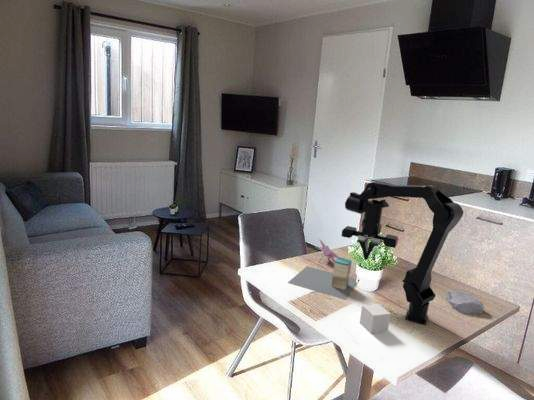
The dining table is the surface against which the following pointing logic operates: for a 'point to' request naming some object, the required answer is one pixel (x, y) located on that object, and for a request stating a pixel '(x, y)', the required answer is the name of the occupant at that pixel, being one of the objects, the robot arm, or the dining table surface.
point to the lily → (327, 252)
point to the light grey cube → (374, 318)
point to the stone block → (464, 302)
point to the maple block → (341, 273)
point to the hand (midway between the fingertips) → (366, 259)
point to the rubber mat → (321, 282)
